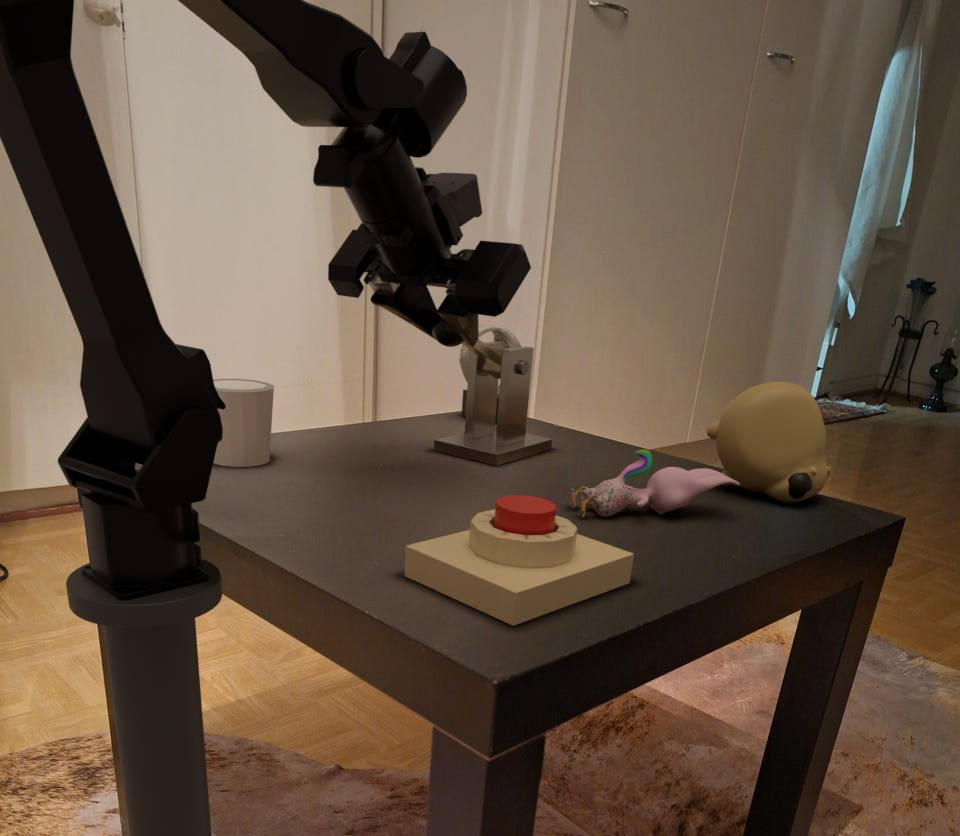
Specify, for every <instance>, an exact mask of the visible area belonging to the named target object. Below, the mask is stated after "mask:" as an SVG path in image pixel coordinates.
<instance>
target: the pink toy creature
mask: <svg viewBox="0 0 960 836" xmlns="http://www.w3.org/2000/svg"><path fill="white" fill-rule="evenodd" d="M634 454H636V455H637V456H638V457H639V459H637V461H635V462H633V463H631V464H629V465H627V466H626V467H625V468H624V469H623V470H622V472H620V473H619V475H618V476H616V477H615V478H610V479H606V480H603V481H601V482H600V483H599V484H598V485H596V486H594V487H592V488H591V487H587V486H585V485H582V486H581V487H579V488H578V490H576V491H574V488H572V487H570V489H571V491H572V492H571V494H570V502H569V504H570V505H572V507H571V509H574V508H575V507H576V504H577V502H576V499H577V498H578V495H580V494H583V495H584V496H585V499H584V496H580V498H581V501H580V510H579V512H582V513H583V514H582V516H581V518H582V519H583V518H584V517H585V515H586V508H587V506H588V507H589V508H590V509H592V510H594V511H595V512H596V514H597V515H598V516H601V517H604V518H608V517H613V515H615V514H617V513H619V512H621V511H622V510H623V509H629V510H632V509H636V508H643V507H644V506H646V505H647V504H648V502H649V507H650V509H652V510H654V511H655V512H656V513H658V514H659V515H663V514H665V513H668V512H671V511H675V510H677V509H679V508H683V507H686V506H687V505H689V503H690V502H691V501H692V500H693V499H694V497H695V496H697V495H699V494H702V493H704V492H707V491H709V490H712V489H713V488H716V487H718V486H721V485H723V484H725V483H726V484H731V485H732V486H737V487H740V486H739V485H740V483H738V482H737V481H735V480H733V479H731V478H729V477H727V476H726V475H724V474H722V472H720V471H718V470H715V469H711V468H707V467H705V468H703V467H702V468H693V469H689V470H686V469H684V468H682V467H679V466H668V467H664V468H661V469H659V470H657V471H656V472H654V473H653V474H652V476H650V478H649V480H648V482H647V484H646V487H645V488H636V487H634V486H630V485H627V484H626V480H627V479H628V478H632V477H640V476H644V475H645V474H646V473H648V472H649V471H650V470H651V469H652V467H653V466H652V465H653V462H654V461H653V460H654V459H653V455H652V454H651V452H650V450H648V449H639V450H637V451H635V452H634Z"/></svg>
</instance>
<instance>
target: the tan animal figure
mask: <svg viewBox="0 0 960 836" xmlns="http://www.w3.org/2000/svg"><path fill="white" fill-rule="evenodd" d="M706 435H707V436H708V438H709V439H712V440H715V442H716V451H717V455H718V458H719V461H720V463H721V466H722V471H721V473H722V474H724V475H726V476H727V477H729V478H731V479H733V480H735V481H737V482H738V483H740V485H739V486H738V487H741V488H742V489H745V490H747V491H750V492H754V493H763V494H765V495H767V496H769V497H770V498H772V499H774V500H777V501H779V502H783V503H788V504H789V503H790V504H792V503H799V502H802V501H805V500H808V499H809V498H812V497H814V496H815V495H817V494H819V493H820V492H821V491H822V490H823V489H824V487H825V485H826V483H827V481H828V480H827V479H828V478H829V475H830V473H831V472H832V468H831V467H830V466H829V465H828V463H827V462H826V453H825V452H826V445H827V444H826V443H827V438H826V437H827V434H826V428H825V422H824V418H823V414H822V412H821V408H820V406H819V404H818V402H817V401H816V399H815V397H814V396H813V395H812V394H811V392H810V391H808V390H807V389H806V388H805V387H803V386H802V385H799V384H796V383H793V382H789V381H771V382H764V383H760V384H757V385H754V386H752V387H750V388H747V389H745V390H744V391H742V392H740V393H739V394H737V395H736V397H734V398H733V399H732V400H731V401H730V402H729V403H728V404H727V406H726V407H725V408H724V410H723V412H722V413H721V416H720V418H719V419H717V420H716V421H714V422H712V423H710V424H709V426H708V427H707V429H706ZM722 485H723V486H725V487H726V486H727V487H728V486H731V485H732V484H726V483H725V484H722Z"/></svg>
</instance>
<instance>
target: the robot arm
mask: <svg viewBox="0 0 960 836" xmlns="http://www.w3.org/2000/svg"><path fill="white" fill-rule="evenodd" d="M177 1H178V2H179V3H180V4H182V6H184V7H185V8H187V10H189V11H190V12H191V13H193V15H195V16H196V17H198V18H199V19H200V20H201V21H202V22H203V23H205V24H206V25H207V26H209V27H210V28H211V29H213V31H215V32H216V33H217V34H218V35H220V36H221V37H222V38H224V39H225V40H226V41H227V42H229V44H231V45H232V46H234V47H235V48H236V49H237V50H238V51H240V52H241V53H242V54H243V55H244V57H246V59H247V60H248V61H249V62H250V63H251V64H252V65H253V67H254V70H255V72H256V75H257V78H258V81H259V83H260V85H261V87H262V89H263V90H264V92H265V93H266V94H267V95H268V97H270V99H272V101H273V102H274V103H275V104H276V105H277V106H278V107H279V109H280V110H281V111H282V112H283V113H284V114H285V115H286V116H287V117H288V118H289V119H290V120H291V121H292V122H293V123H295V124H297V125H299V126H301V127H304V128H342V129H341V131H340V132H339V133H338V135H337V136H336V137H335V139H334V140H333V141H332V142H331V144H319V146H318V148H317V154H318V155H317V161H316V163H315V165H314V168H313V177H312V181H313V184H314V185H315V186H316V187H325V188H341V189H344V192H345V193H346V196H347V197H348V200H349V201H350V203H351V205H352V207H353V208H354V210H355V212H356V214H357V216H358V218H359V220H360V222H361V223H360V224H359V225H358V228H356V229H352V230H351V231H350V233H348V235H347V237H346V239H345V240H344V242H342V244H341V246H340V247H339V248H338V250H337V252H336V253H335V254H334V255H333V257H332V259H331V260H330V261H329V263H328V266H327V268H328V269H327V280H328V282H329V283H330V285H331V287H332V288H333V290H334V292H335V293H336V295H337V296H342V297H347V298H356V299H359V298H360V296H361V295H362V294H363V291H364V289H365V285H369V286H370V289H371V290H372V293H373V294H372V295H371V296H370V302H371V304H373V305H374V306H378V307H380V308H382V309H384V310H386V311H387V312H389V313H391V314H393V315H394V316H396V317H398V318H399V319H401V320H403V321H404V322H406V323H408V324H410V325H411V326H413V327H415V328H416V329H418V331H421V332H423V333H424V334H426V335H427V336H429V337H431V338H432V339H433V340H435V341H437V340H436V339H435V338H434V336H433V334H432V329H431V323H432V319H433V317H434V315H435V314H436V312H437V313H438V314H439V315H440V316H441V317H442V318H443V319H444V320H445V321H446V322H447V323H448V324H449V326H450V327H451V328H452V329H453V330H454V331H455V332H456V333H457V334H458V335H459V336H460V337H461V338H462V339H463V340H464V341H465V342H466V343H467V344H468V345H469V346H472V347H474V346H475V344H476V342H477V341H478V339H479V338H480V337H479V336H478V327H479V315H480V316H485V317H493V318H496V317H497V316H500V315H502V314H504V313H505V311H506V310H507V309H508V307H509V305H510V303H511V301H512V300H513V298H514V297H515V295H516V294H517V292H518V290H519V289H520V287H521V285H522V284H523V282H524V281H525V279H526V277H527V275H528V274H529V273H530V271H531V269H532V266H531V263H530V261H529V258H528V255H527V252H526V249H525V248H524V245H523V244H520V243H514V242H503V241H502V242H501V241H493V240H492V241H490V240H480V241H479V242H478V243H477V245H476V247H475V248H474V249H472V248H464V249H461V250H459V251H458V252H457V253H452V251H451V248H452V247H453V246H458V245H459V243H460V242H461V240H462V239H463V237H464V233H463V232H462V229H461V228H462V227H463V226H464V225H466V224H467V223H468V222H470V221H471V220H473V219H474V218H477V219H478V218H480V217H481V216H482V215H483V207H482V200H481V195H480V187H479V180H478V175H477V174H476V173H467V172H466V173H464V172H439V173H438V172H437V173H427V172H426V170H425V169H424V168H423V167H419V166H418V167H417V166H415V165H414V162H413V161H412V158H414V159H415V158H416V159H420V158H424V157H426V156H428V155H429V154H431V153H432V151H433V150H434V148H435V146H436V145H437V143H438V142H439V141H440V139H441V138H442V136H443V135H444V133H445V132H446V130H447V129H448V128H449V126H450V125H451V123H452V122H453V120H454V119H455V118H456V116H457V115H458V113H459V111H461V108H462V107H463V106H464V105H465V102H466V100H467V96H468V85H467V81H466V77H465V75H464V73H463V70H462V69H460V68H458V66H457V64H456V63H455V62H454V61H453V59H451V57H450V56H448V55H447V54H446V53H445V52H444V51H442V50H441V49H439V48H437V47H435V46H433V45H431V42H430V39H429V37H428V34H427V32H426V31H411V32H404V33H403V35H402V36H401V38H400V39H399V41H398V42H397V44H396V47H395V49H394V51H393V53H392V54H391V55H390V57H389V58H388V57H386V56H385V55H384V53H383V51H382V48H381V47H380V45H379V43H378V42H377V40H376V39H375V38H374V37H373V36H372V35H371V33H369V32H367V31H365V30H364V29H363V28H361V27H360V26H358V25H357V24H355V23H353V22H352V21H350V20H349V19H347V18H345V17H344V16H343V15H341V14H339V13H336V12H335V11H331V10H328V9H326V8H324V7H321V6H318V5H315V4H313V3H309V2H308V1H305V0H177ZM74 9H75V0H0V141H1V143H2V145H3V148H4V150H5V153H6V155H7V158H8V160H9V163H10V166H11V168H12V170H13V173H14V176H15V178H16V180H17V182H18V185H19V187H20V190H21V193H22V195H23V197H24V200H25V202H26V205H27V207H28V210H29V212H30V215H31V218H32V219H33V222H34V224H35V227H36V229H37V232H38V234H39V236H40V239H41V242H42V244H43V246H44V249H45V251H46V254H47V257H48V259H49V261H50V263H51V266H52V268H53V272H54V273H55V276H56V278H57V281H58V283H59V286H60V288H61V291H62V294H63V296H64V298H65V301H66V303H67V306H68V308H69V310H70V313H71V316H72V318H73V320H74V323H75V326H76V328H77V330H78V333H79V335H80V338H81V342H82V357H81V359H82V360H81V368H80V379H79V389H80V392H81V397H82V400H83V404H84V408H85V412H86V416H87V417H86V418H85V420H84V421H83V423H82V424H81V426H80V427H79V428H78V430H77V431H76V432H75V434H74V435H73V437H72V438H71V440H70V441H69V442H68V443H67V445H66V446H65V448H64V449H63V451H62V452H61V453H60V455H59V456H58V458H57V463H58V466H59V468H60V470H61V471H62V474H63V475H64V478H65V480H66V481H67V484H68V485H69V486H70V487H72V488H75V489H76V488H79V489H82V490H85V491H87V492H85V493H82V494H81V502H82V509H83V517H84V525H85V533H86V540H87V549H88V555H89V563H90V565H86V564H85V565H86V566H83V565H82V566H83V567H82V568H81V571H82V574H83V575H84V576H86V577H87V578H88V579H90V580H91V581H93V582H94V583H95V584H97V585H98V586H100V587H101V588H103V589H104V590H105V591H107V592H108V593H110V594H111V595H113V596H114V597H115V598H117V599H118V600H122V601H126V600H131V599H135V598H140V597H144V596H148V595H152V594H157V593H161V592H165V591H169V590H174V589H178V588H182V587H186V586H191V585H195V584H199V583H203V582H207V581H208V574H207V573H206V572H204V571H202V570H201V569H199V568H197V566H200V565H201V563H202V559H203V558H202V547H201V545H198V544H197V543H198V542H200V541H201V532H200V516H199V511H197V510H196V509H195V508H193V505H192V504H195V503H200V502H203V501H205V499H206V497H207V493H208V488H209V485H210V484H209V483H210V479H211V475H212V470H213V467H214V463H213V462H214V458H215V453H216V449H217V445H218V442H220V441H221V440H222V437H223V427H222V421H221V416H220V413H219V411H218V409H225V408H226V405H225V403H224V402H223V401H222V399H221V398H220V397H219V395H218V393H217V391H216V388H215V386H214V381H213V380H214V378H213V371H212V365H211V362H210V359H209V358H208V355H207V353H206V351H205V350H204V349H203V348H197V347H193V346H188V345H184V344H179V343H175V341H173V339H172V338H171V337H170V336H169V335H168V333H167V332H166V330H165V329H164V327H163V325H162V323H161V320H160V317H159V314H158V311H157V308H156V306H155V303H154V299H153V296H152V293H151V291H150V288H149V285H148V282H147V279H146V277H145V272H144V271H143V267H142V265H141V262H140V258H139V256H138V253H137V250H136V247H135V244H134V241H133V239H132V236H131V232H130V230H129V227H128V224H127V220H126V218H125V215H124V213H123V210H122V206H121V202H120V200H119V198H118V195H117V192H116V189H115V186H114V183H113V179H112V177H111V174H110V171H109V169H108V166H107V163H106V160H105V157H104V154H103V151H102V148H101V146H100V142H99V139H98V137H97V134H96V131H95V128H94V124H93V121H92V118H91V116H90V113H89V111H88V107H87V104H86V101H85V99H84V95H83V93H82V90H81V87H80V84H79V81H78V78H77V75H76V72H75V69H74V64H73V59H72V43H73V27H74V12H75V10H74ZM365 273H366V275H365V276H364V274H365ZM363 276H364V278H363V283H364V284H365V285H363V283H362V281H361V278H362V277H363ZM428 287H437V288H444V289H446V290H445V294H446V295H445V297H444V298H443V300H442V302H441V303H440V305H439V307H438V308H437V306H436V304H435V301H434V299H433V297H432V294H431V292H430V290H429V288H428ZM136 465H141V467H140V469H137V468H136Z"/></svg>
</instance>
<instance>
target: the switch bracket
mask: <svg viewBox="0 0 960 836" xmlns="http://www.w3.org/2000/svg"><path fill="white" fill-rule="evenodd" d="M483 343H485V344H486V345H487V346H489V347H496V348H501V343H500V342H494V341H487V342H483ZM534 349H535V348H534V347H531V346H522V347H518V348H508V349H503V354H502V367H501V379H498V378H494V377H493V376H492V375H490V374H489V373H487V372H486V371H484V370H483V369H482V368H483V365H484V362H485V360H484V359H482V358H481V357H480V356H478V355H477V354H475V353H474V352H473V351H471V350H470V355H469V370H468V383H467V388H466V390H467V402H466V417H465V416H464V417H465V418H464V420H465V421H464V432H461V433H457V434H453V435H448V436H444V437H440V438H436V439H435V438H434V441H433V452H437V453H442V454H446V455H450V456H454V457H459V458H462V459H467V460H470V461H471V460H472V461H474V462H479V463H483V464H487V465H491V466H496V467H497V466H500V465H503V464H507V463H510V462H514V461H517V460H522V459H524V458H527V457H531V456H535V455H538V454H541V453H544V452H548V451H551V450H552V446H553V439H552V438H549V437H544V436H540V435H535V434H531V433H527V424H528V413H529V412H528V411H529V404H530V403H529V402H530V391H531V381H532V370H533V359H534ZM499 381H500V382H499ZM499 385H500V392H499V404H498V417H497V424H495V420H496V407H497V394H498V386H499Z"/></svg>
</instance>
